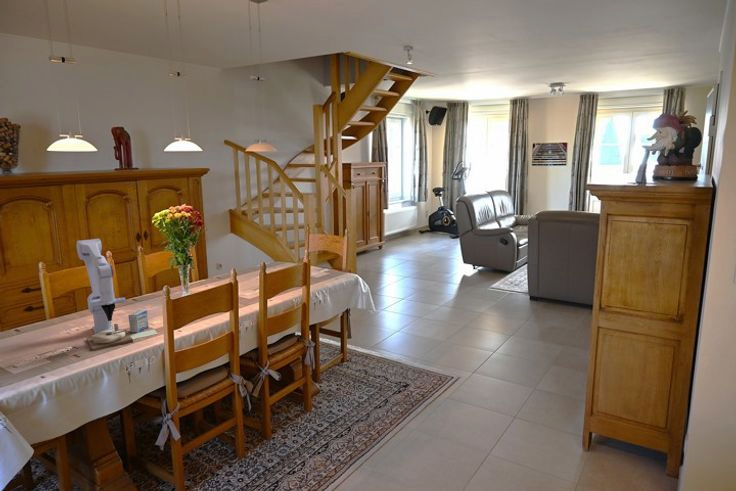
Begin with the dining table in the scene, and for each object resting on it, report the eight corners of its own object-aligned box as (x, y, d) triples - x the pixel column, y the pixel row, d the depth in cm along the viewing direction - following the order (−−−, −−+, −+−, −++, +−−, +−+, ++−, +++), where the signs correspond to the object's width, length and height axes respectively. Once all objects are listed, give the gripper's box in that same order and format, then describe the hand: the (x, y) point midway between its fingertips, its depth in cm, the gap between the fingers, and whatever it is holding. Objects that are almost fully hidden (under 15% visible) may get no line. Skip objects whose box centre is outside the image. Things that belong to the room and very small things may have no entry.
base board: (86, 339, 223) (86, 337, 222) (125, 331, 232) (124, 329, 232) (92, 350, 210) (92, 348, 210) (133, 341, 220) (132, 339, 219)
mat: (128, 335, 228) (128, 334, 228) (153, 329, 235) (153, 329, 235) (132, 339, 223) (132, 339, 223) (157, 333, 229) (157, 333, 229)
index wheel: (112, 344, 213) (110, 334, 212) (85, 342, 216) (84, 332, 215) (131, 333, 226) (130, 323, 225) (106, 331, 228) (105, 322, 228)
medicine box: (138, 333, 230) (136, 315, 229) (129, 332, 231) (128, 314, 230) (148, 327, 238) (147, 310, 236) (140, 326, 239) (139, 309, 237)
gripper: (89, 296, 214) (93, 326, 217) (126, 290, 223) (129, 319, 225) (87, 292, 219) (90, 321, 222) (122, 287, 228) (125, 315, 231)
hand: (109, 320), depth 224 cm, fingers closed
